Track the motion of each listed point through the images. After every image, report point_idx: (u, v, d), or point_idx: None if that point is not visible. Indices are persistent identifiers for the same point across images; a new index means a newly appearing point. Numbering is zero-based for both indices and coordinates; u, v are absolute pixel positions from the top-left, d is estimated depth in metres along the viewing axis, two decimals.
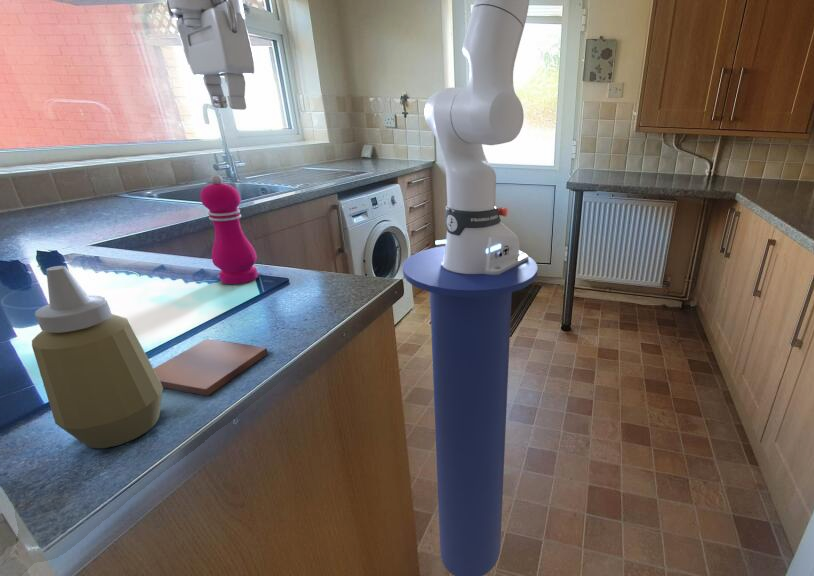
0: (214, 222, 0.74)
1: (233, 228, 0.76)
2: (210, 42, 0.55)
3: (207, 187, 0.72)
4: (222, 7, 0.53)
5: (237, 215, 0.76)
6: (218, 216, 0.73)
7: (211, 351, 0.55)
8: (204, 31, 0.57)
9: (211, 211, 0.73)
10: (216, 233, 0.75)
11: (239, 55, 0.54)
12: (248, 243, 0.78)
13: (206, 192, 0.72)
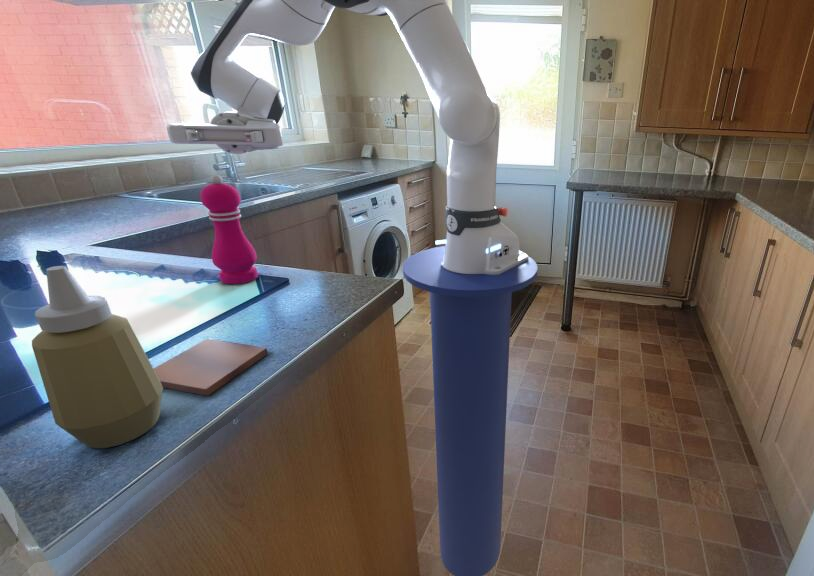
0: (214, 222, 0.74)
1: (233, 228, 0.76)
2: None
3: (207, 187, 0.72)
4: None
5: (237, 215, 0.76)
6: (218, 216, 0.73)
7: (211, 351, 0.55)
8: None
9: (211, 211, 0.73)
10: (216, 233, 0.75)
11: None
12: (248, 243, 0.78)
13: (206, 192, 0.72)
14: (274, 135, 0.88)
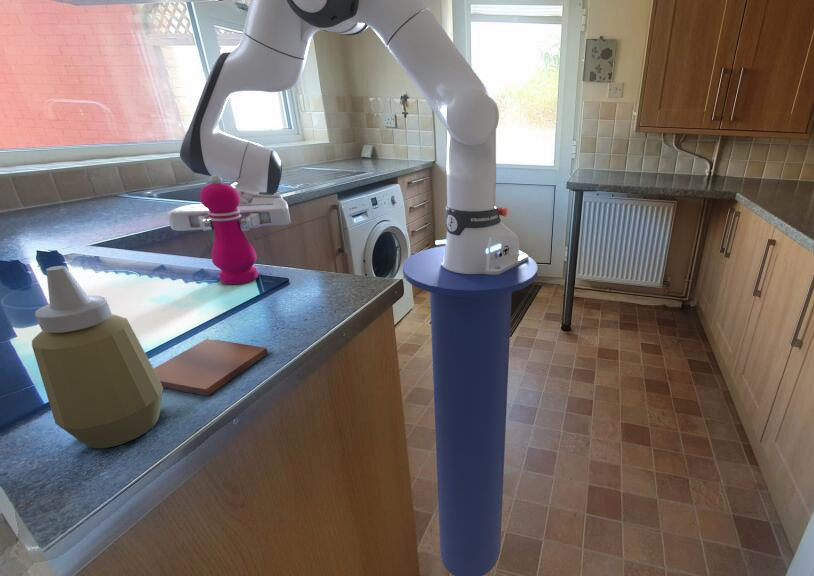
0: (214, 222, 0.74)
1: (233, 228, 0.76)
2: None
3: (207, 187, 0.72)
4: None
5: (237, 215, 0.76)
6: (217, 216, 0.73)
7: (211, 351, 0.55)
8: None
9: (211, 211, 0.73)
10: (216, 233, 0.75)
11: None
12: (248, 243, 0.78)
13: (205, 192, 0.72)
14: (282, 216, 0.83)
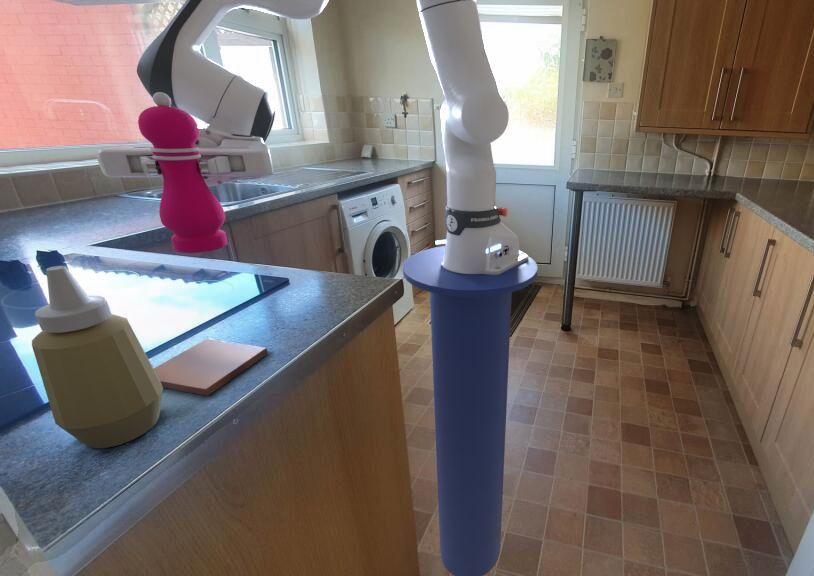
0: (160, 162, 0.52)
1: (189, 173, 0.53)
2: None
3: (147, 109, 0.50)
4: None
5: (194, 154, 0.53)
6: (164, 152, 0.51)
7: (211, 351, 0.55)
8: None
9: (155, 146, 0.51)
10: (164, 179, 0.53)
11: None
12: (212, 196, 0.56)
13: (145, 115, 0.49)
14: (260, 162, 0.60)
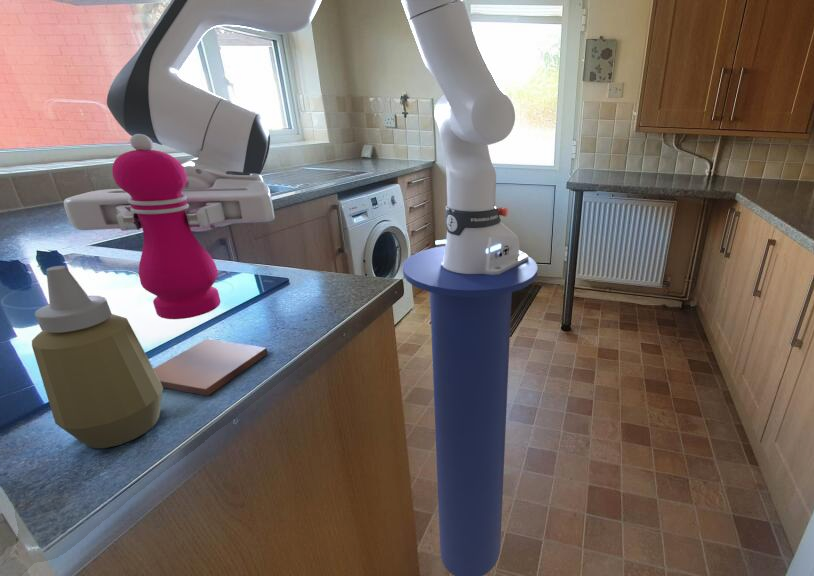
0: (140, 216, 0.44)
1: (174, 227, 0.45)
2: None
3: (123, 155, 0.41)
4: None
5: (180, 205, 0.45)
6: (144, 205, 0.43)
7: (211, 351, 0.55)
8: None
9: (133, 197, 0.43)
10: (145, 235, 0.45)
11: None
12: (202, 251, 0.48)
13: (120, 163, 0.41)
14: (259, 207, 0.52)
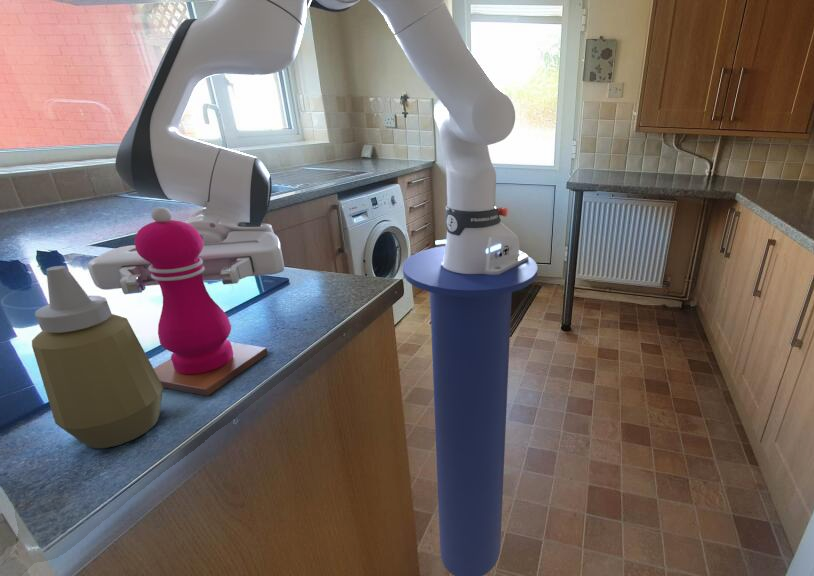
0: (159, 282, 0.47)
1: (192, 290, 0.48)
2: None
3: (145, 228, 0.44)
4: None
5: (197, 269, 0.48)
6: (164, 273, 0.46)
7: None
8: None
9: (154, 265, 0.46)
10: (164, 298, 0.48)
11: None
12: (216, 310, 0.51)
13: (142, 236, 0.44)
14: (270, 261, 0.55)
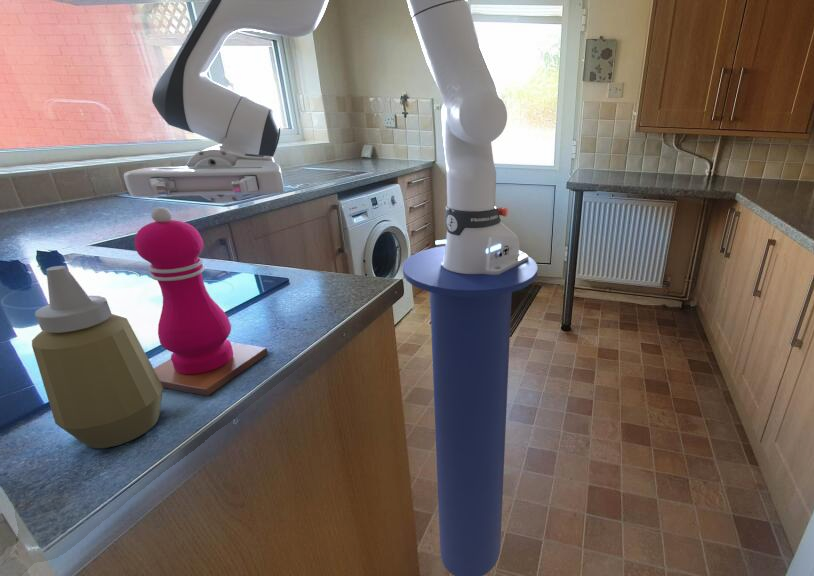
0: (159, 282, 0.47)
1: (192, 290, 0.48)
2: None
3: (145, 228, 0.44)
4: None
5: (197, 269, 0.48)
6: (164, 273, 0.46)
7: None
8: None
9: (154, 265, 0.46)
10: (164, 298, 0.48)
11: None
12: (216, 310, 0.51)
13: (142, 236, 0.44)
14: (273, 180, 0.65)
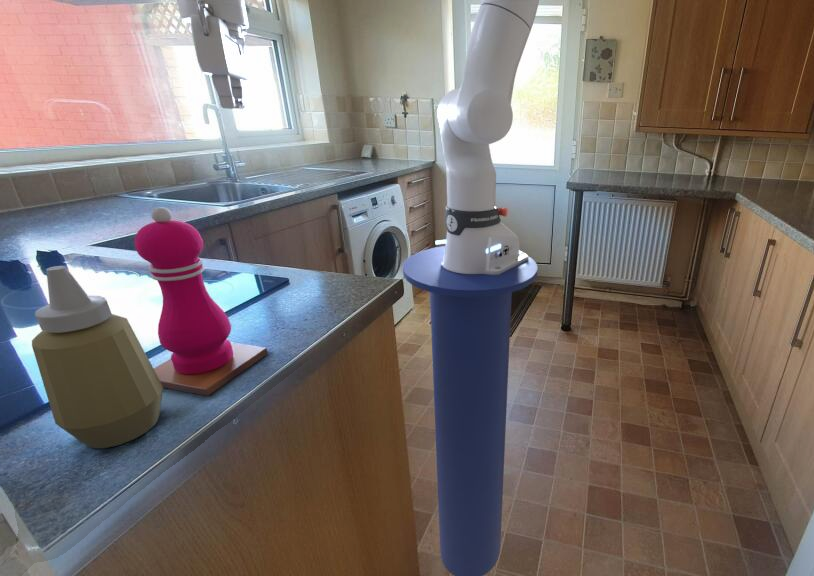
0: (159, 282, 0.47)
1: (192, 290, 0.48)
2: None
3: (145, 228, 0.44)
4: None
5: (197, 269, 0.48)
6: (164, 273, 0.46)
7: None
8: None
9: (154, 265, 0.46)
10: (164, 298, 0.48)
11: (210, 57, 0.58)
12: (216, 310, 0.51)
13: (142, 236, 0.44)
14: None
